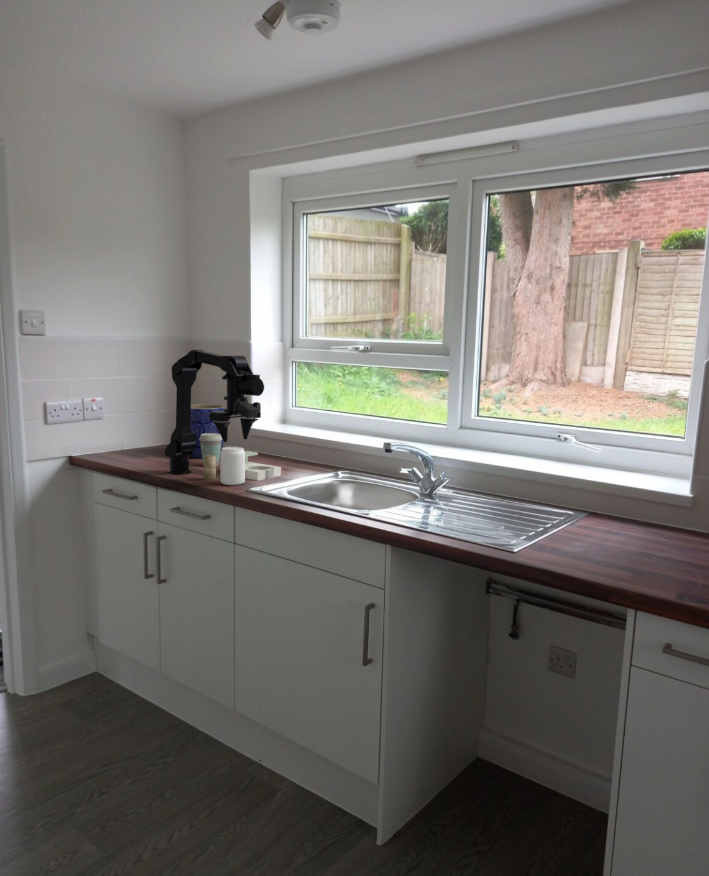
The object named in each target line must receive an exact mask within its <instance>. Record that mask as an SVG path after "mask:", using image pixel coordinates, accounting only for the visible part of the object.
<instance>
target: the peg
mask: <svg viewBox="0 0 709 876" xmlns="http://www.w3.org/2000/svg"><path fill="white" fill-rule="evenodd" d="M203 479H204V480H205V481H213V480H216V479H217V466H216V456H215V455H206V456H204V466H203Z"/></svg>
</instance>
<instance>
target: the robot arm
mask: <svg viewBox="0 0 709 876" xmlns="http://www.w3.org/2000/svg"><path fill="white" fill-rule="evenodd" d="M203 364H205V365H209V366H214V367H218V368H219V369H220V370H221V371H222V372H224V373H225V374H224V375H223V376H221V379H222V380H226V396H223V400H225V401H226V408H225V409H224V412H221V411H216V412H211V413H210V414H209V420H210V421H212V423H214V424H215V426H216V427H217V429H218V431H219V433H220V435H221V437H222V439H223V441H224V443H227V442H228V437H229V436H228V431H229V430H228V429H229V428H228V427H229V426H230V424H231V423H232V422H231V421H230V419H236V418H240V425H241V432H242V437H243V439H244V440H247V439H248V437H249V433H250V431H251V429H252V426H253V424H254V423H255V422H257V421H258V420H259V419H261V418H262V416H261V415H262V414H261V413H262V412H261V409H262V407H261V403H260V402H258V401H255V402H251V403H250V402H249V401H248V400H249V399H248V396H255V397H260V396H261V395H263V393H264V390H265V383H264V381H263V380H262V379H261V378H260V377H261V374H254V371H253V370H252V368H251V366H250V365H249V363H248V361H247V358H246V356H245V355H224V354H219V353H215V352H209V351H206V350H203V349H192V350H190V351H189V352H188V353H186V355H184V356H182V357H181V358H179V359H178V360H177V361H176V362H174V363H173V364H172V366H171V379H172V381H173V383H174V384H175V387H176V402H175V404H176V405H175V409H176V410H175V428H174V430H173V431H172V433H171V436H170V441H169V443H168V445H167V446H166V447H165V448H164V455H165V457H169V470H166V473H167V474H168V473H169V474H171V475H172V474H174V475H184V474H189V473H192V470H190V464H189V463H190V461H189V456H187V455H192V454H193V450H194V448H195V444H196V433H193V432H192V430H191V428H190V419H191V404H192V387H193V385H194V383H195V382H196V380H197V374H198V373H199V371H200V370H201V369H202V366H203Z"/></svg>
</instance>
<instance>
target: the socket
mask: <svg viewBox="0 0 709 876" xmlns="http://www.w3.org/2000/svg"><path fill="white" fill-rule="evenodd" d="M280 476H282V467H281V466H276V465H270V464H263V463H259V462H252V461H248V462H245V479H248V480H253V481H256V482H257V481H262V480H269V479H274V478H276V477H280Z"/></svg>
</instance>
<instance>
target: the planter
mask: <svg viewBox="0 0 709 876" xmlns="http://www.w3.org/2000/svg"><path fill="white" fill-rule="evenodd" d="M224 409H226V406H225V405H221V404H211V403H210V404H209V403H194V404H193V403H191V419H190V428H191V430H192V432H193V433H196V444H195V448H194V450H193V454H192V455H187V456H188V458H193V459H202V452H201V444H200V440H199V439H200V436H201V434H205V433H217V434H220V433H219V431H218V429H217V427H216V426H215V424H214V423H212V421H210V420H209V414H210V413H211V412H216V411H221V412H224ZM224 446H225V442H224V441H223V439H222V440H221V449H220V453H221V451H222V448H224Z"/></svg>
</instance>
